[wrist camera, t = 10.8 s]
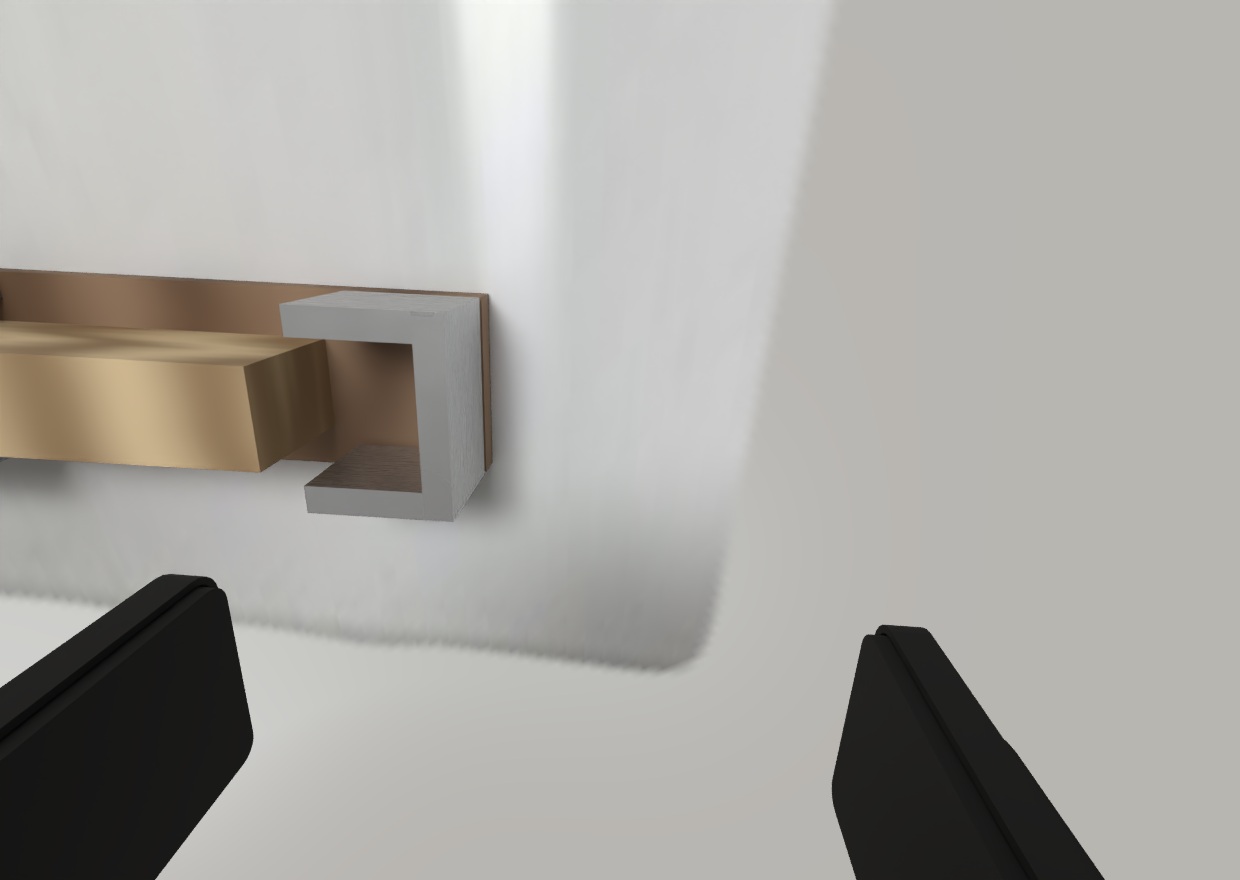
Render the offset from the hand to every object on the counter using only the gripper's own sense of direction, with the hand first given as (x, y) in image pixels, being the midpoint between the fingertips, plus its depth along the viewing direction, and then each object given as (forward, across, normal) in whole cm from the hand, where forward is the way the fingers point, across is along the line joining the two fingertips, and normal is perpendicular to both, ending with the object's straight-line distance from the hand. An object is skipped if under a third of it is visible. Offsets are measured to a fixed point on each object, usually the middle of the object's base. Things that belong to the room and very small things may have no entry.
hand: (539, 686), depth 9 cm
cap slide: (+15, +7, 0) cm, 17 cm away
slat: (+16, +18, 0) cm, 24 cm away
